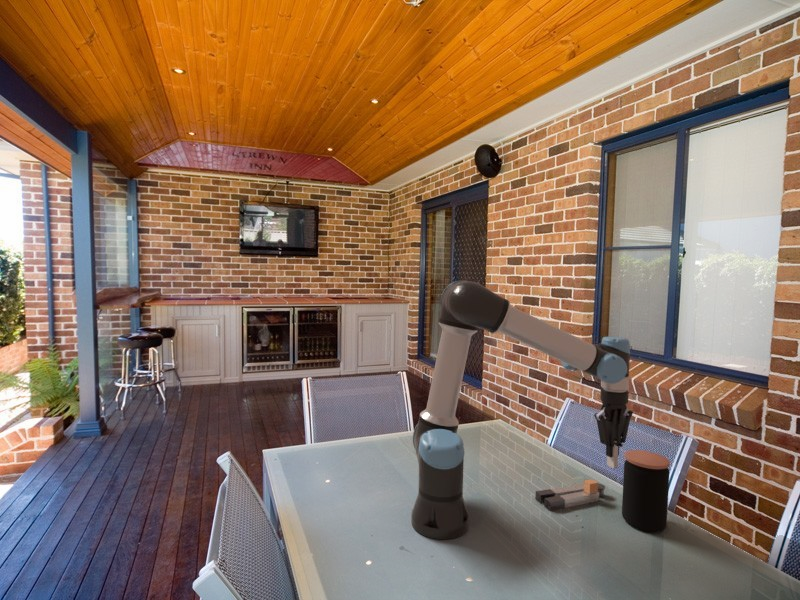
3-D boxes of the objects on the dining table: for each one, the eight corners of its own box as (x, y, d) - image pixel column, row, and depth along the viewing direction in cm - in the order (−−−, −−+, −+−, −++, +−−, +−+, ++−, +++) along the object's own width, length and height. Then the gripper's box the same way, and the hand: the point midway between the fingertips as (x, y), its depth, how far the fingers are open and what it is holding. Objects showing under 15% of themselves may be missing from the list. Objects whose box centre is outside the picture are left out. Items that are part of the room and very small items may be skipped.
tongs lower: (598, 491, 139) (598, 482, 138) (609, 498, 134) (610, 488, 134) (539, 503, 131) (540, 493, 131) (550, 511, 127) (550, 501, 126)
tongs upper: (585, 491, 138) (585, 484, 138) (590, 495, 136) (591, 487, 136) (535, 499, 133) (535, 491, 133) (540, 503, 131) (540, 495, 131)
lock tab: (591, 488, 135) (591, 479, 135) (597, 492, 133) (598, 482, 132) (583, 490, 134) (583, 480, 134) (589, 494, 131) (590, 484, 131)
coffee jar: (655, 513, 126) (658, 450, 125) (674, 535, 116) (678, 467, 114) (615, 511, 127) (618, 448, 126) (631, 532, 117) (634, 464, 116)
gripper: (620, 384, 140) (618, 458, 141) (587, 388, 135) (585, 464, 137) (641, 390, 133) (638, 468, 134) (607, 394, 128) (605, 475, 130)
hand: (612, 466), depth 135 cm, fingers closed
